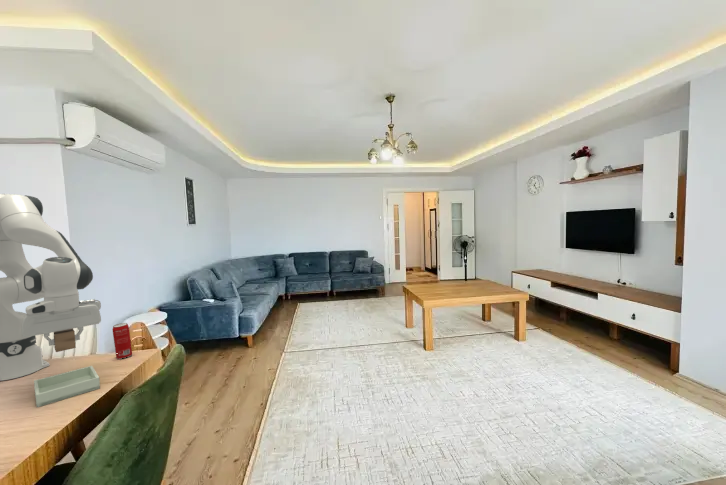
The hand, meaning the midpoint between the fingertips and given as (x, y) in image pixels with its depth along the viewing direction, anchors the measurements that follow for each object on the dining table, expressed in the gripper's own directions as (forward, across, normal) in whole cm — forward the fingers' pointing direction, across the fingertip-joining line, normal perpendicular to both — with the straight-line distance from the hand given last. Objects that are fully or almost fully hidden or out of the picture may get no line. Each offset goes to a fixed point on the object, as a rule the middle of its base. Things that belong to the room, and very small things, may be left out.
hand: (64, 342), depth 111 cm
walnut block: (+2, 0, 0) cm, 2 cm away
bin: (+17, 0, 0) cm, 17 cm away
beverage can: (+17, -20, -21) cm, 34 cm away
